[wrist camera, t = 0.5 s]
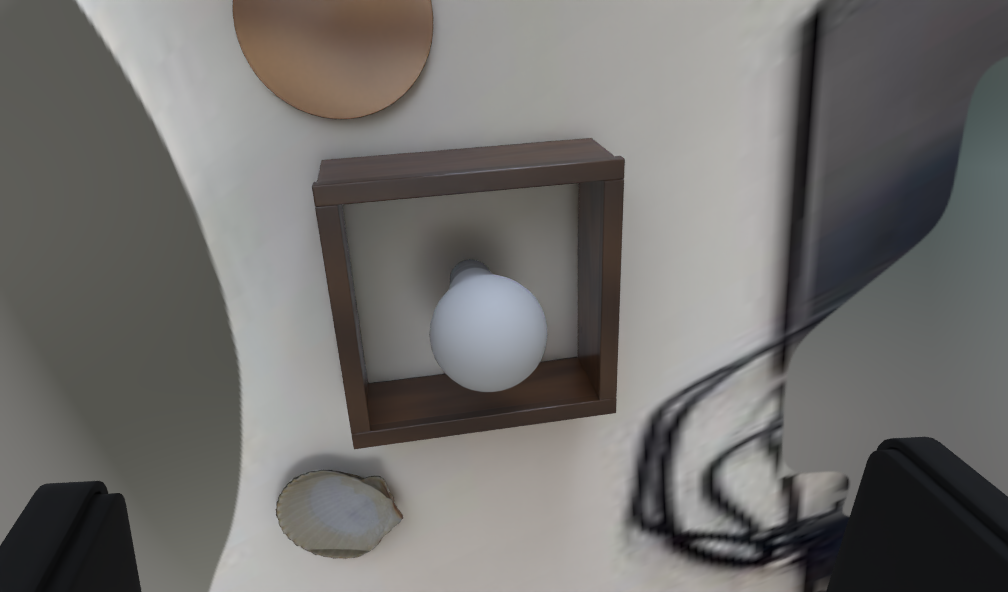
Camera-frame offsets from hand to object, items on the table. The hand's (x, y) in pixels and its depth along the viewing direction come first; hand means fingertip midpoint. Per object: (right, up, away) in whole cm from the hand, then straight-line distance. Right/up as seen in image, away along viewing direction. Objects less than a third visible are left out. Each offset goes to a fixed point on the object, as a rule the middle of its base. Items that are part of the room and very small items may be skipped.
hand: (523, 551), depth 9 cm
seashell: (-12, -11, +41) cm, 44 cm away
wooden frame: (-2, +5, +35) cm, 36 cm away
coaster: (-9, +17, +28) cm, 34 cm away
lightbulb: (-3, +5, +36) cm, 36 cm away
